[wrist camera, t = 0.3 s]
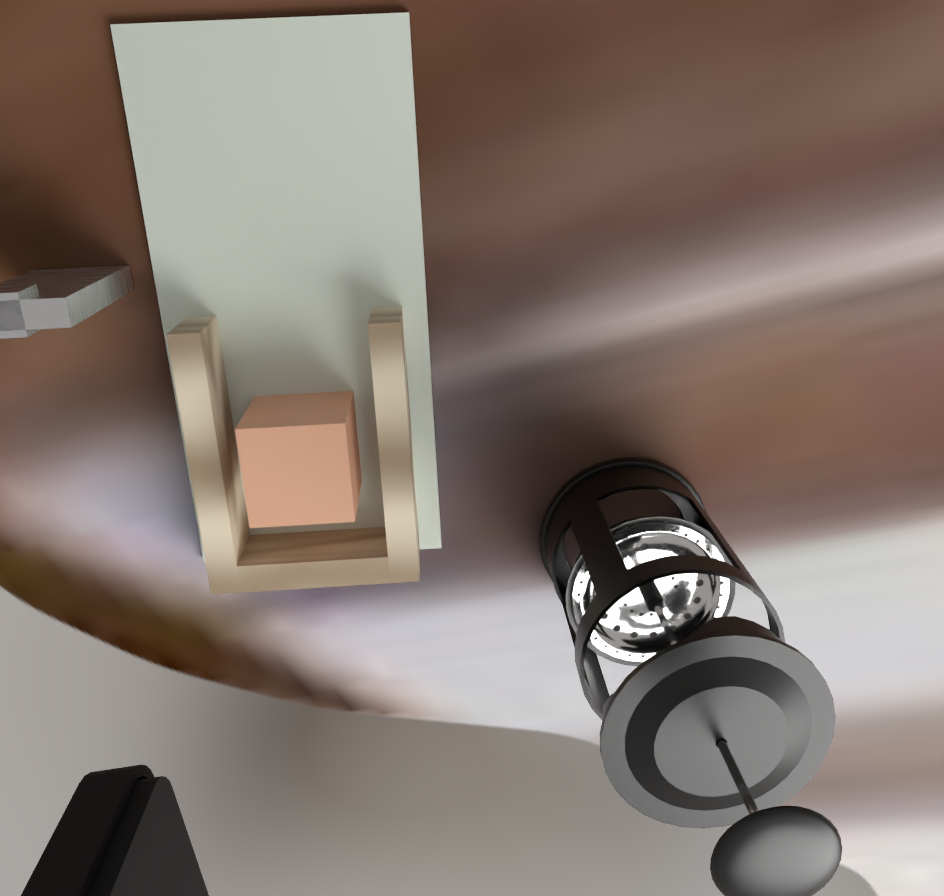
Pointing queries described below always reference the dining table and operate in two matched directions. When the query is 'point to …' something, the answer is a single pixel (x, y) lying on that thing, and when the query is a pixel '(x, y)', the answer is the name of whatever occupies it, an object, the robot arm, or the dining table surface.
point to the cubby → (220, 486)
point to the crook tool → (58, 297)
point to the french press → (693, 682)
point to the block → (300, 459)
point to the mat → (288, 211)
